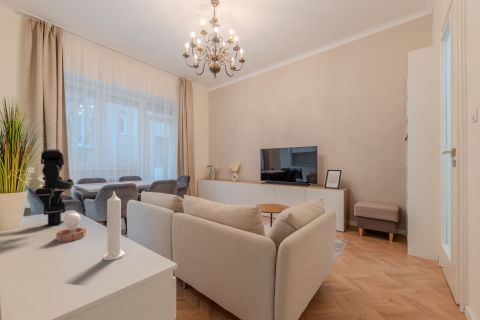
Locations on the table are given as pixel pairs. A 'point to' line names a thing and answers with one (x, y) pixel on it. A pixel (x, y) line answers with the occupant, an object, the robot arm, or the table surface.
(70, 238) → the holder
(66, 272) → the table surface
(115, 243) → the candle
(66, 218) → the lightbulb
